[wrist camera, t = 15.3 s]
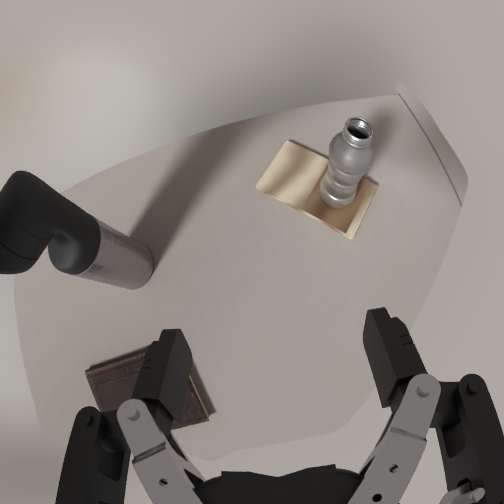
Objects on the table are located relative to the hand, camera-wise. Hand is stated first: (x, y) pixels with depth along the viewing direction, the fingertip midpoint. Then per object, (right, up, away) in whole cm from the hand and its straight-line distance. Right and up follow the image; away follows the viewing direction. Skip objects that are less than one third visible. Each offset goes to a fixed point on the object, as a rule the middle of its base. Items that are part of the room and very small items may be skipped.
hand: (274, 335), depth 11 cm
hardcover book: (-22, -24, +35) cm, 47 cm away
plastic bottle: (+14, +14, +37) cm, 42 cm away
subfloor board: (+11, +16, +39) cm, 44 cm away
